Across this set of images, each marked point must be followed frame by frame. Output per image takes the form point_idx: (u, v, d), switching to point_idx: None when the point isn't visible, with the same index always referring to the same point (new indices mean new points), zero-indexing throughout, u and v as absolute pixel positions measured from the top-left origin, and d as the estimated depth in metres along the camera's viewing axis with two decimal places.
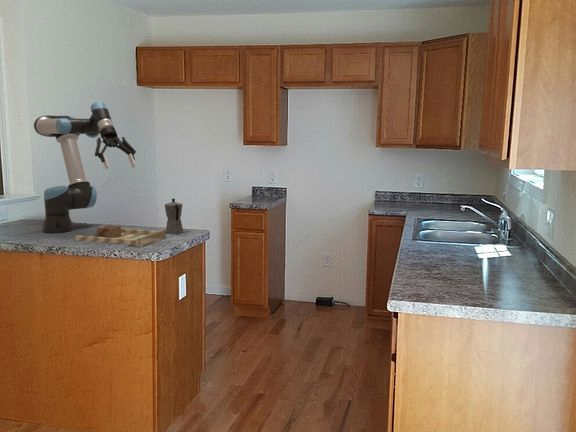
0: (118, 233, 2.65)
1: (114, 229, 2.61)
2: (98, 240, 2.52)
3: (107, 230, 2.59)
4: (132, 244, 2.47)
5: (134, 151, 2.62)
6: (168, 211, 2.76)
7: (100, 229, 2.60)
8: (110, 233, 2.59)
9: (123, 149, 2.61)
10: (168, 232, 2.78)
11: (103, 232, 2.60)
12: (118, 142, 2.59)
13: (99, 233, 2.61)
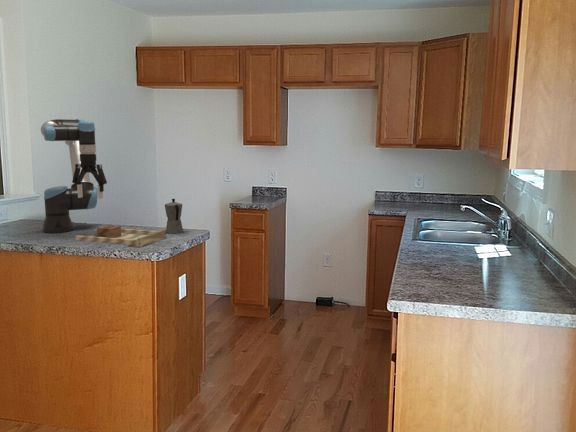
0: (118, 233, 2.65)
1: (114, 229, 2.61)
2: (98, 240, 2.52)
3: (107, 230, 2.59)
4: (132, 244, 2.47)
5: (102, 183, 2.59)
6: (168, 211, 2.76)
7: (100, 229, 2.60)
8: (110, 233, 2.59)
9: None
10: (168, 232, 2.78)
11: (103, 232, 2.60)
12: (90, 171, 2.59)
13: (99, 233, 2.61)
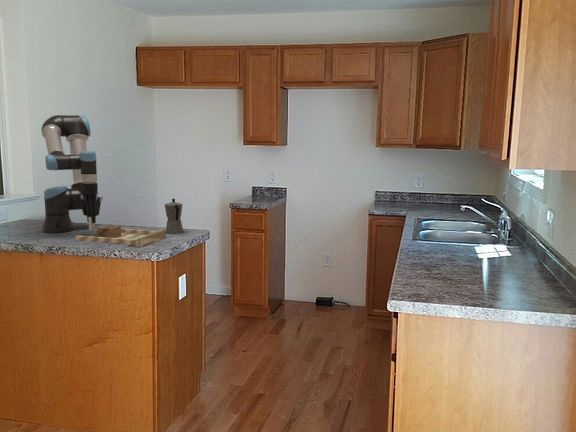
0: (118, 233, 2.65)
1: (114, 229, 2.61)
2: (98, 240, 2.52)
3: (107, 230, 2.59)
4: (132, 244, 2.47)
5: (94, 214, 2.63)
6: (168, 211, 2.76)
7: (100, 229, 2.60)
8: (110, 233, 2.59)
9: None
10: (168, 232, 2.78)
11: (103, 232, 2.60)
12: (89, 200, 2.62)
13: (99, 233, 2.61)
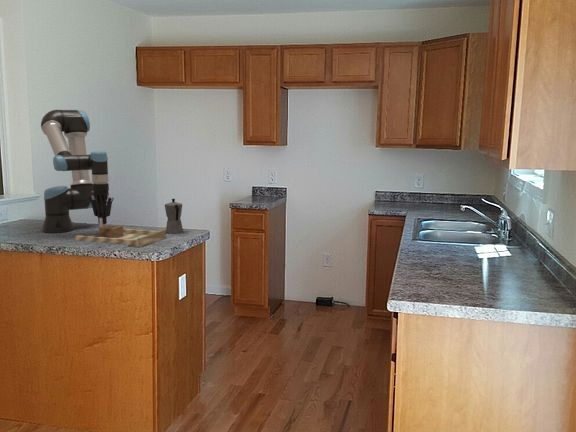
0: (121, 233, 2.64)
1: (116, 229, 2.61)
2: (98, 240, 2.52)
3: (109, 230, 2.59)
4: (132, 244, 2.47)
5: (105, 215, 2.61)
6: (168, 211, 2.76)
7: (102, 229, 2.60)
8: (112, 233, 2.58)
9: None
10: (168, 232, 2.78)
11: (105, 232, 2.59)
12: (100, 201, 2.60)
13: (101, 233, 2.60)
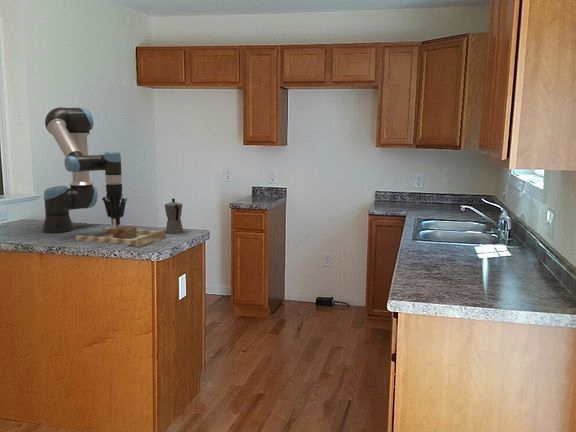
0: (134, 234, 2.62)
1: (130, 230, 2.58)
2: (98, 240, 2.52)
3: (123, 231, 2.56)
4: (132, 244, 2.47)
5: (118, 216, 2.59)
6: (168, 211, 2.76)
7: (115, 230, 2.57)
8: (126, 234, 2.56)
9: None
10: (168, 232, 2.78)
11: (118, 233, 2.57)
12: (114, 201, 2.58)
13: (114, 234, 2.58)
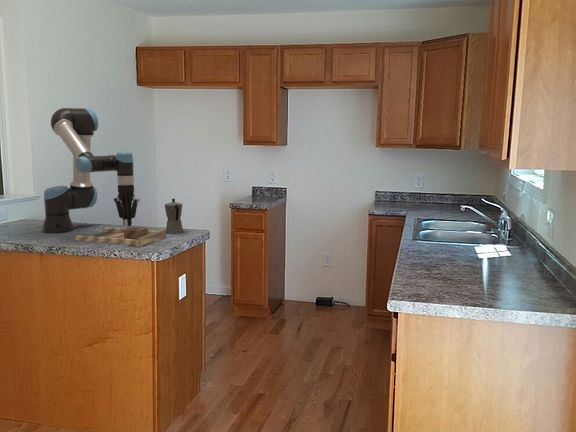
0: (145, 235, 2.60)
1: (141, 231, 2.56)
2: (98, 240, 2.52)
3: (134, 232, 2.54)
4: (132, 244, 2.47)
5: (130, 217, 2.57)
6: (168, 211, 2.76)
7: (127, 231, 2.56)
8: (137, 235, 2.54)
9: None
10: (168, 232, 2.78)
11: (130, 234, 2.55)
12: (126, 202, 2.56)
13: (126, 235, 2.56)
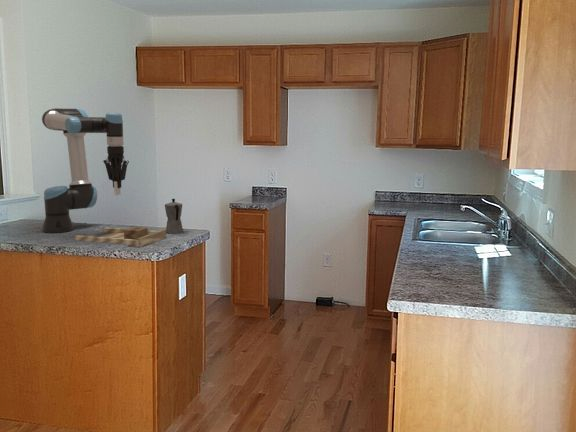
0: (145, 235, 2.60)
1: (141, 231, 2.56)
2: (98, 240, 2.52)
3: (134, 232, 2.54)
4: (132, 244, 2.47)
5: (120, 178, 2.56)
6: (168, 211, 2.76)
7: (127, 231, 2.56)
8: (137, 235, 2.54)
9: None
10: (168, 232, 2.78)
11: (130, 234, 2.55)
12: (115, 164, 2.55)
13: (126, 235, 2.56)
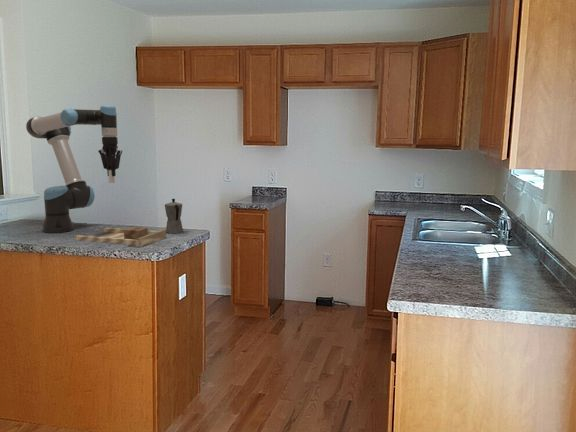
0: (145, 235, 2.60)
1: (141, 231, 2.56)
2: (98, 240, 2.52)
3: (134, 232, 2.54)
4: (132, 244, 2.47)
5: (114, 167, 2.72)
6: (168, 211, 2.76)
7: (127, 231, 2.56)
8: (137, 235, 2.54)
9: None
10: (168, 232, 2.78)
11: (130, 234, 2.55)
12: (110, 153, 2.71)
13: (126, 235, 2.56)
